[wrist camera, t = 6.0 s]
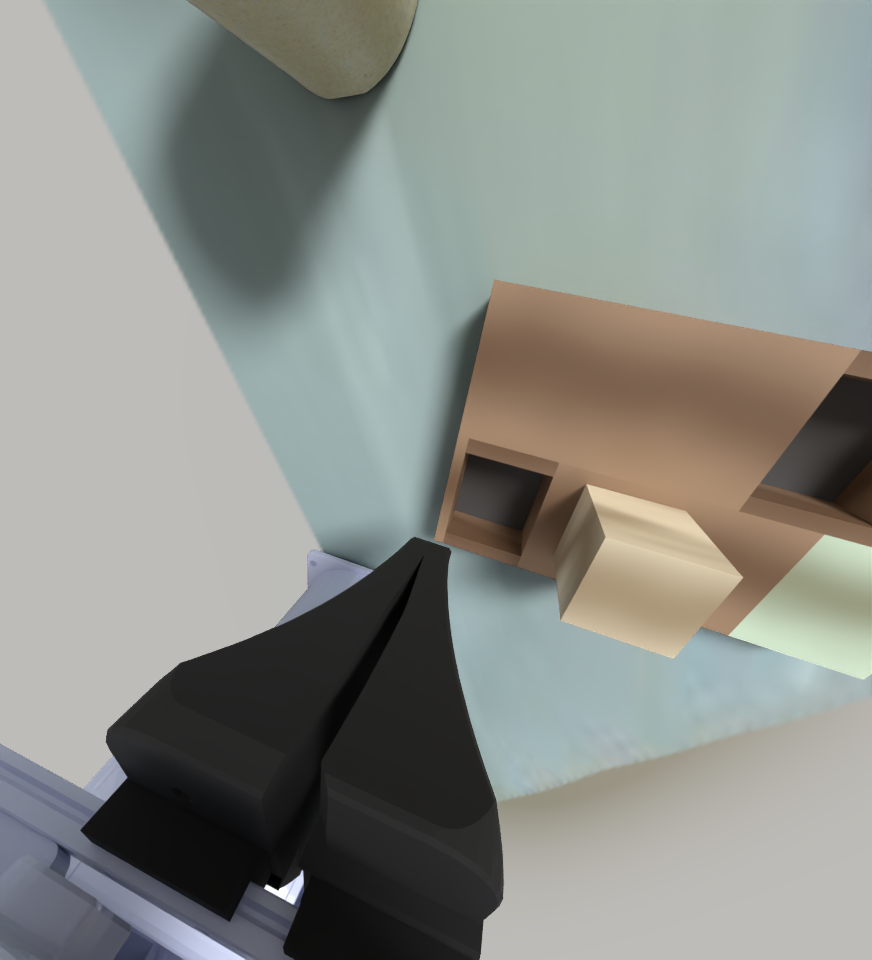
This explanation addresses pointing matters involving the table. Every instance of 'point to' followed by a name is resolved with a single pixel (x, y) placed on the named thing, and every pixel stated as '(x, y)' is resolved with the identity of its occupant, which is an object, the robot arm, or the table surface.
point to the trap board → (678, 455)
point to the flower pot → (321, 38)
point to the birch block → (639, 571)
